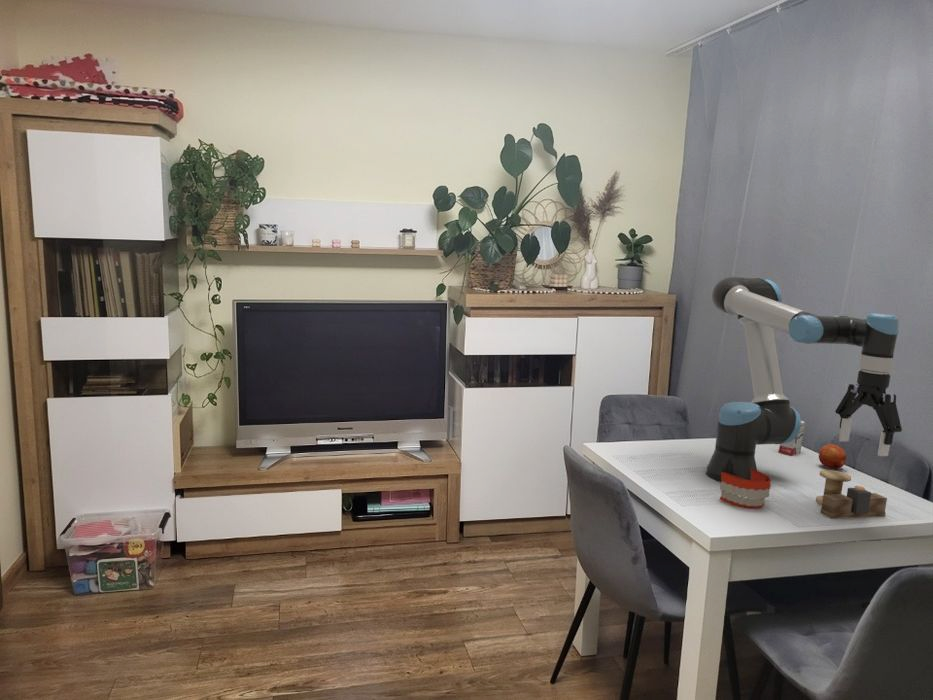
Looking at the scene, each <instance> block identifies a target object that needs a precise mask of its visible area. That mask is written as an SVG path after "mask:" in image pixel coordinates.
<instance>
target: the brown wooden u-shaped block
mask: <svg viewBox="0 0 933 700" xmlns="http://www.w3.org/2000/svg"><path fill="white" fill-rule="evenodd" d="M822 496H823V502H822V505H821V508H820V511H819V513H820V514H821V515H824V516H826V517H828V518H829V519H846V518H847V519H850V518H852V519H853V518H868V517H869V518H871V517H873V518H874V516H876V517H886V507H887V502H888V498H887V497H886V496H883V495H881V494H879V493H877V492H871V498H870V504H869V510H868V514H855V513H853V512H851V508H852V501H853V499H851V498H849V497H847V495H844V494H842V493H841V494H829V495H824V494H823V495H822Z"/></svg>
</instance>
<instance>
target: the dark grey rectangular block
mask: <svg viewBox="0 0 933 700" xmlns="http://www.w3.org/2000/svg"><path fill="white" fill-rule="evenodd" d="M871 493H872V492H871V491H869V490H867V489H866V488H865V487H864V486H861V485H854V487H848V488H847V492H846V496H847V497H849V498H851V499H853V501H852V508H851V512H853V513H855V514H868V510H869V504H870V498H871Z"/></svg>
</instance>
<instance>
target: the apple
mask: <svg viewBox="0 0 933 700" xmlns="http://www.w3.org/2000/svg"><path fill="white" fill-rule="evenodd" d="M818 460H819V462H820V463H821V465H823V466H824V467H826V468H828V469H830V470H839V469H841V468H842V467H843V466H844V465H845V464H846V462H847V453H846V452H845V450H844V449H843V448H842V447H841V446H838V445H836V444H832V443H830V444H829V443H828V444H825V445H824V446H822V447H821V448H820V449H819V451H818Z"/></svg>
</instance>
